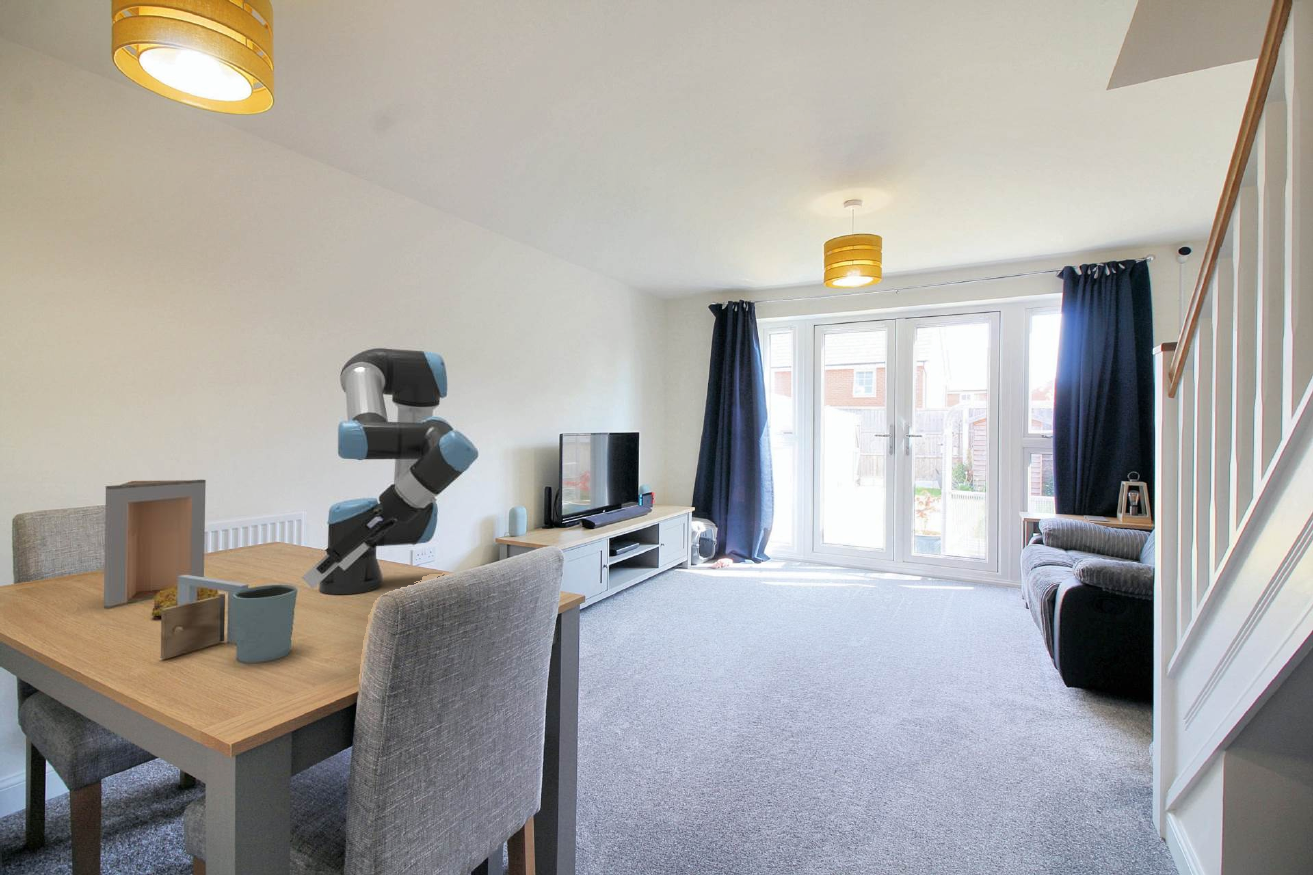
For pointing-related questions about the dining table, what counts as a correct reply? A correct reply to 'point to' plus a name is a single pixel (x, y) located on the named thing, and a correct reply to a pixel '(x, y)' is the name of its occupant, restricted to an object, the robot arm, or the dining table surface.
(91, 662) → the dining table surface
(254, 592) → the teal cup
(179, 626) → the door
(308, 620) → the dining table surface
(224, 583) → the grey rectangular arch
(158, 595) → the rock
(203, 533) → the cabinet
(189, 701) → the dining table surface
